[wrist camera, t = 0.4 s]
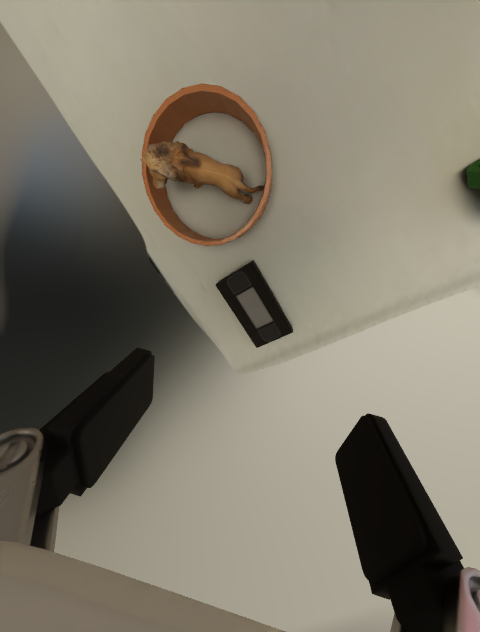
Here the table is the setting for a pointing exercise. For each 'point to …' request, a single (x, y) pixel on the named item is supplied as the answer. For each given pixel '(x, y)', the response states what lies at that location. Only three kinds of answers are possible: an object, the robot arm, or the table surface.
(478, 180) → the green bracket
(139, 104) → the table surface
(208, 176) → the lion figurine
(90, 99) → the table surface
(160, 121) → the basin
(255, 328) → the vhs tape
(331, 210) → the table surface
